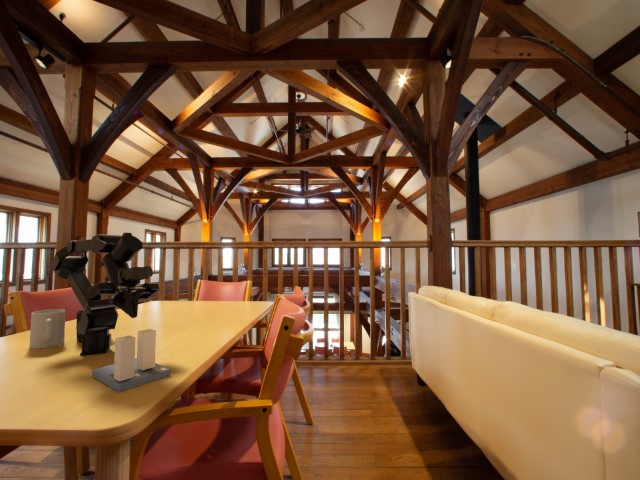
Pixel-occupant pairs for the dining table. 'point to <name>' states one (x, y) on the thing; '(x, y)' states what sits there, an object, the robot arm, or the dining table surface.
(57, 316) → the mug
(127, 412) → the dining table surface
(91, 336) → the robot arm
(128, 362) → the tab
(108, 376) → the grey base plate
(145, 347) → the tab
